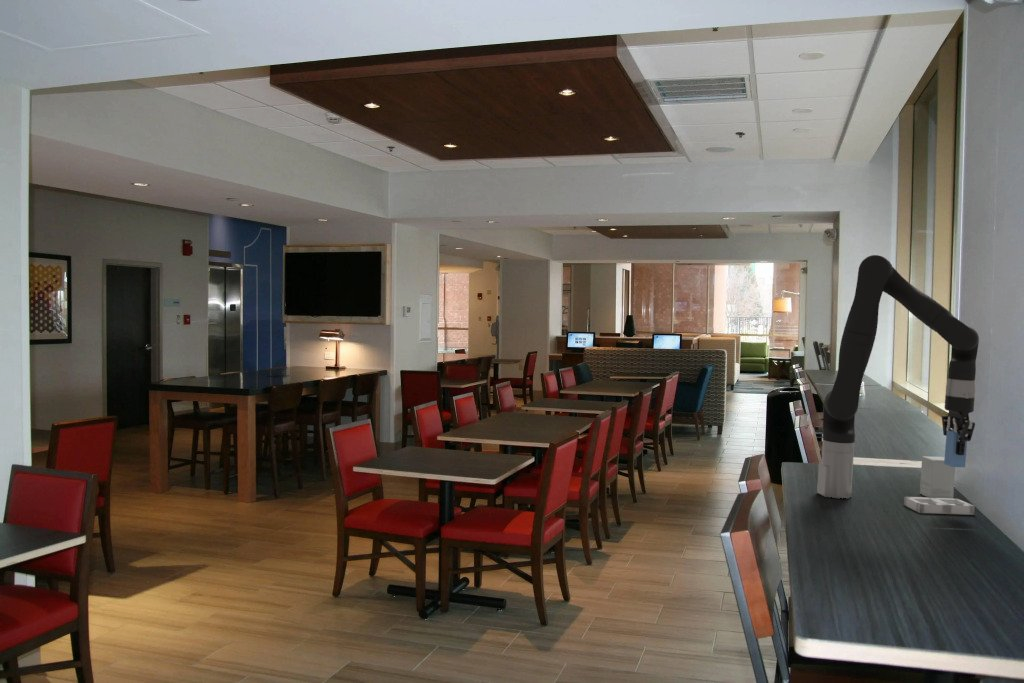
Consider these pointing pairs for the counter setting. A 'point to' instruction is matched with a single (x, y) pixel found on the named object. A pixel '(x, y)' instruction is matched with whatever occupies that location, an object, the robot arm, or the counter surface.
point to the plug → (953, 451)
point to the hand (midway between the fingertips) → (955, 452)
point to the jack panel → (939, 505)
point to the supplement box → (936, 478)
